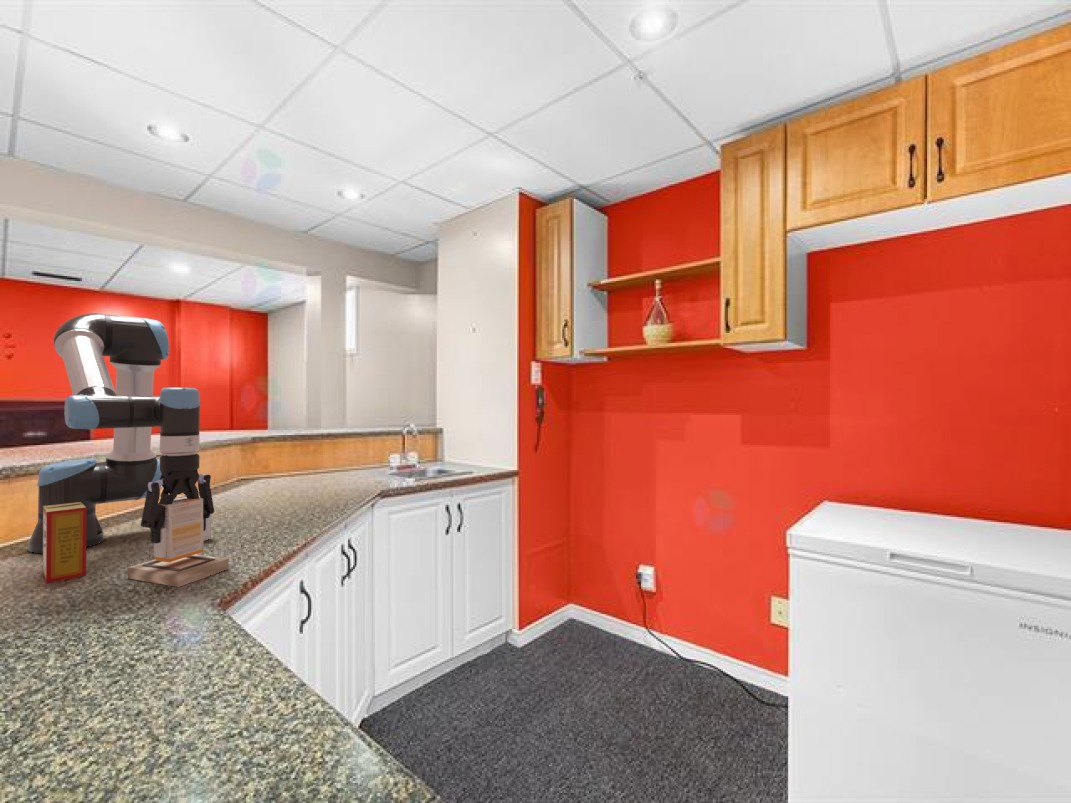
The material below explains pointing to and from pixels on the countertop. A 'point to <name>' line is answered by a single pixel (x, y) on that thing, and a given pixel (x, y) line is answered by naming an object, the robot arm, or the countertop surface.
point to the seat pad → (178, 570)
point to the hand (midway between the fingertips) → (179, 550)
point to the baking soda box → (64, 541)
